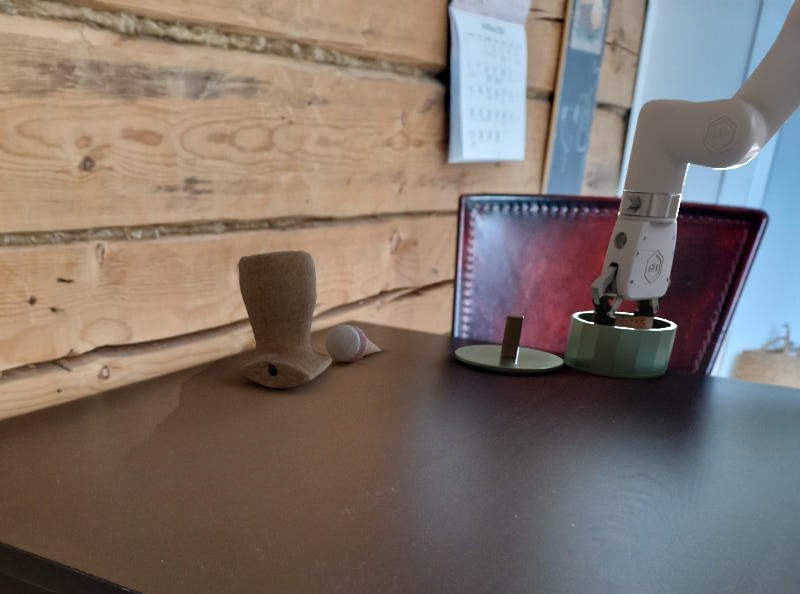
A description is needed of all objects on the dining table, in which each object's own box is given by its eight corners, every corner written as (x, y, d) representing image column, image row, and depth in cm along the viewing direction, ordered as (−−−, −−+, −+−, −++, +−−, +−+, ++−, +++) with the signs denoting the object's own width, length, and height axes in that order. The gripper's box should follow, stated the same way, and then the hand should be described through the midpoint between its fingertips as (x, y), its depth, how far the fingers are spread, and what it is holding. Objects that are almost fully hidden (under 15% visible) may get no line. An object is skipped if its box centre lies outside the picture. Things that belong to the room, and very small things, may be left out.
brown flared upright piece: (255, 360, 117) (256, 240, 109) (339, 370, 115) (346, 247, 107) (215, 385, 104) (213, 251, 97) (309, 396, 102) (315, 259, 94)
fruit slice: (639, 347, 127) (647, 312, 125) (653, 357, 121) (661, 320, 119) (583, 344, 127) (590, 308, 125) (594, 353, 121) (601, 316, 119)
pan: (603, 352, 134) (613, 308, 131) (685, 372, 124) (697, 325, 121) (543, 360, 127) (551, 314, 123) (624, 382, 117) (636, 333, 113)
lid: (504, 348, 133) (511, 303, 129) (584, 370, 122) (594, 321, 119) (432, 357, 125) (437, 309, 121) (511, 381, 114) (519, 329, 111)
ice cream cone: (361, 354, 129) (313, 345, 116) (379, 327, 126) (331, 315, 114) (384, 373, 128) (337, 367, 115) (402, 346, 125) (356, 336, 113)
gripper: (633, 210, 108) (603, 353, 117) (709, 211, 117) (676, 343, 126) (585, 205, 113) (559, 342, 122) (662, 206, 122) (633, 333, 131)
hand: (619, 342), depth 124 cm, fingers closed on fruit slice, 8 cm apart
